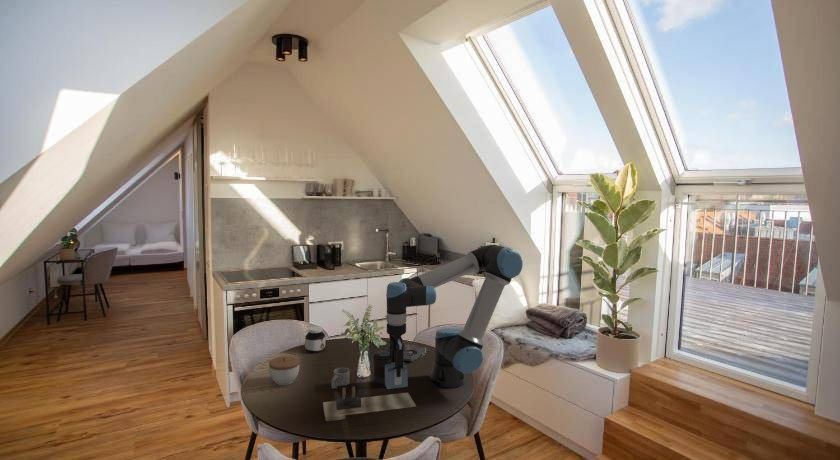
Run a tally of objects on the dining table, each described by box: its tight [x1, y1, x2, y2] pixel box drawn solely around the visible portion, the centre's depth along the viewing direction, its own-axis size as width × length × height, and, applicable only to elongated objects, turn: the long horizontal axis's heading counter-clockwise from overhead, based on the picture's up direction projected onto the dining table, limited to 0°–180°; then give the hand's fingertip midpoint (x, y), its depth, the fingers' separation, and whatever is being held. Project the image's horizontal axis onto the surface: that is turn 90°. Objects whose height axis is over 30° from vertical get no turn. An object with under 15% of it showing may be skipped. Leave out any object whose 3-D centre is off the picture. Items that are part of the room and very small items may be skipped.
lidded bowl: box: [268, 355, 301, 386], centre depth 194 cm, size 13×13×11 cm
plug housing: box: [385, 361, 409, 390], centre depth 176 cm, size 8×4×8 cm, turn 107°
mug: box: [330, 367, 350, 390], centre depth 191 cm, size 10×7×7 cm, turn 154°
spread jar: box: [304, 325, 326, 354], centre depth 234 cm, size 12×11×12 cm
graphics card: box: [403, 344, 427, 363], centre depth 228 cm, size 17×4×12 cm
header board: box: [322, 386, 417, 422], centre depth 173 cm, size 34×12×9 cm, turn 107°
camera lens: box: [373, 349, 392, 388], centre depth 192 cm, size 8×8×15 cm
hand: (396, 381), depth 176 cm, fingers closed on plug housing, 4 cm apart
